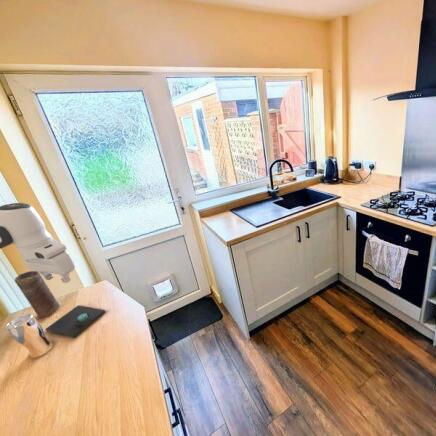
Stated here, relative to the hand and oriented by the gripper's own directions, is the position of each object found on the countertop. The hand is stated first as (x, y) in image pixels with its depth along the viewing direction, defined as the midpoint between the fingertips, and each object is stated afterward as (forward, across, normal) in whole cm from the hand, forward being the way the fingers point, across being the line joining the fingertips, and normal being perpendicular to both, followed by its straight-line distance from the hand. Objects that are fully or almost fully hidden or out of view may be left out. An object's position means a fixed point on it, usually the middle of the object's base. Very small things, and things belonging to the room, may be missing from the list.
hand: (58, 280), depth 90 cm
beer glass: (+23, -5, -13) cm, 27 cm away
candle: (+23, -26, +2) cm, 35 cm away
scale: (+23, -6, +1) cm, 24 cm away
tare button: (+20, 0, +1) cm, 20 cm away
